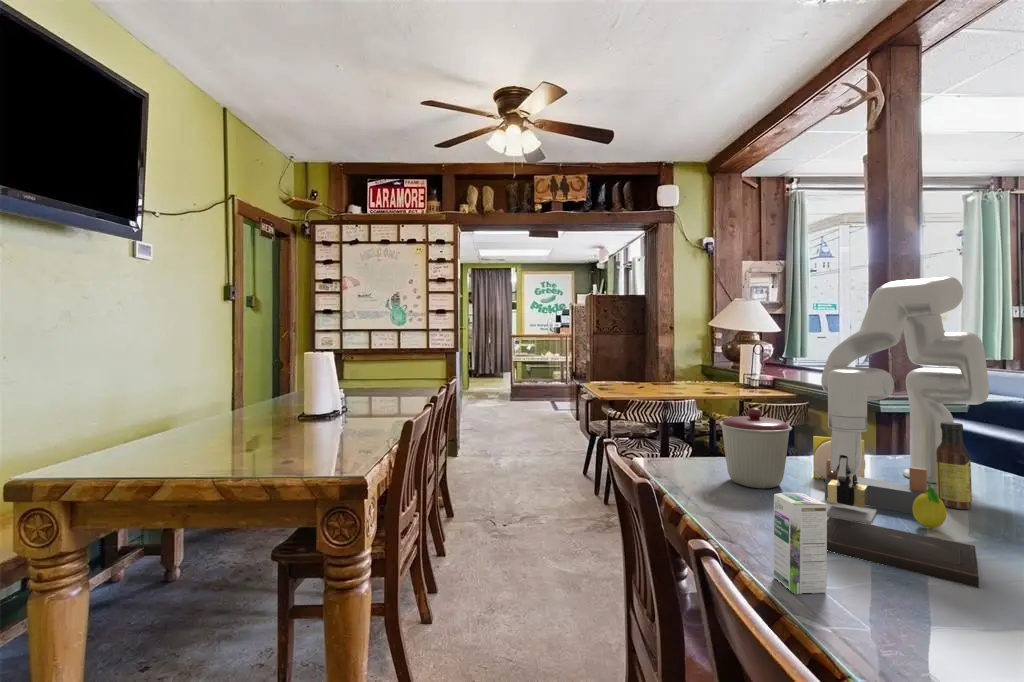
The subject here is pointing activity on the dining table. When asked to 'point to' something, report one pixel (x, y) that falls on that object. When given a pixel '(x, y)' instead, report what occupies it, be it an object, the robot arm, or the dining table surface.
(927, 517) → the lemon
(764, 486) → the canister
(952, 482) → the sauce bottle
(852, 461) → the robot arm
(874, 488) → the plane body
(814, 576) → the syrup box
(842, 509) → the mat
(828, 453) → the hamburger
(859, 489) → the tan rectangular block
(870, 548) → the hardcover book
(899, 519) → the dining table surface
